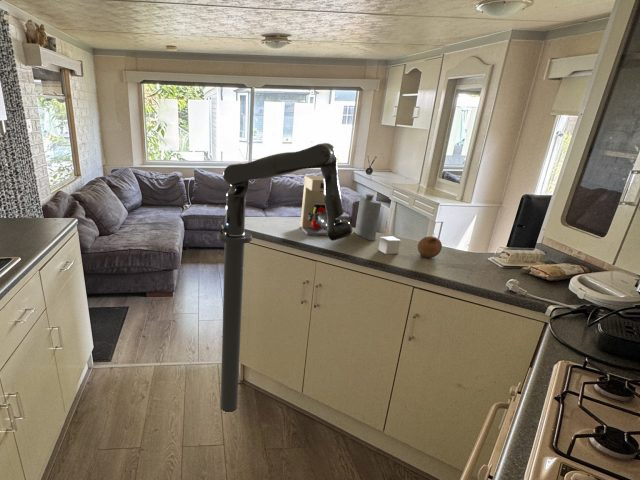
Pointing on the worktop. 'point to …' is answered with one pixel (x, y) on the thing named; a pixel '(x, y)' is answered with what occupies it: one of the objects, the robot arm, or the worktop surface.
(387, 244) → the white cube
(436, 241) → the onion
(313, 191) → the coffee maker
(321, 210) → the beverage can
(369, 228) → the hip flask
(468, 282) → the worktop surface
